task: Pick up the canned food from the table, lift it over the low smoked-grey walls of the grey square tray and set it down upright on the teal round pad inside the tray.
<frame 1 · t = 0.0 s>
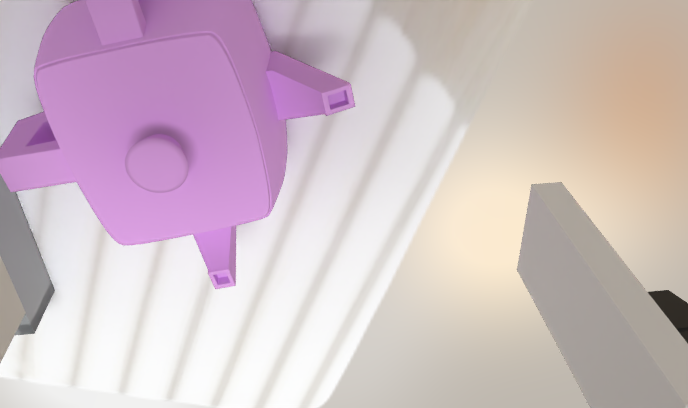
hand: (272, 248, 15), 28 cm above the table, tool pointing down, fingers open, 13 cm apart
teakettle: (195, 84, 42), on the table
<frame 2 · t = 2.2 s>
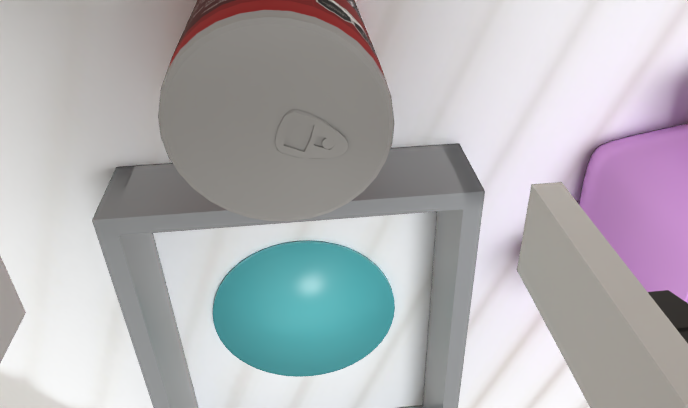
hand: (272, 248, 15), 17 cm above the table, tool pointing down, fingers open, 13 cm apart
canned food: (279, 28, 29), on the table
grey square tray: (304, 312, 39), on the table
teakettle: (672, 217, 38), on the table
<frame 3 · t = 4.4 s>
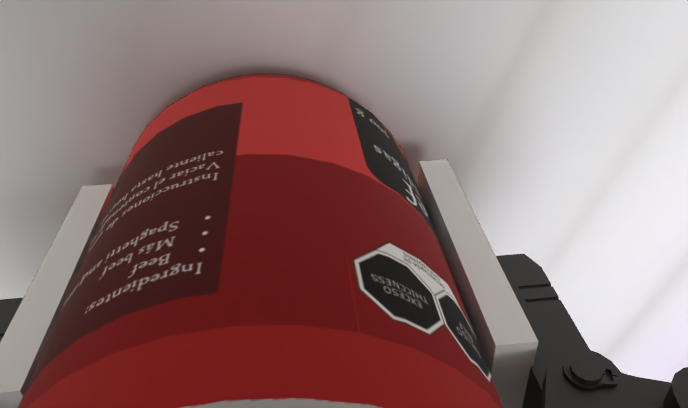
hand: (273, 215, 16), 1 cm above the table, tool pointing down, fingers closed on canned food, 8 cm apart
canned food: (273, 187, 17), on the table, touching gripper
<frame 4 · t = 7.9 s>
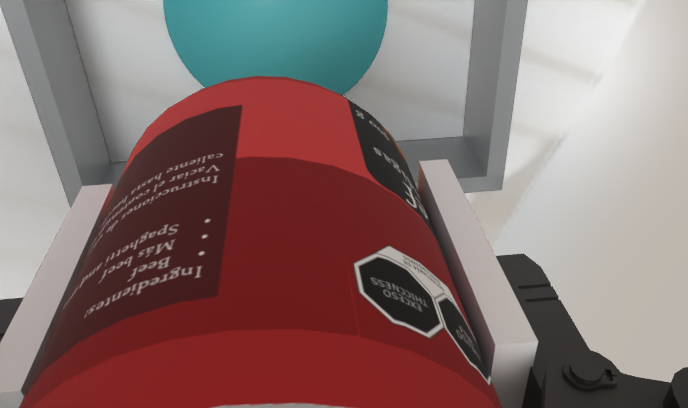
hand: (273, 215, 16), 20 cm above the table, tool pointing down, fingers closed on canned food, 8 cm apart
canned food: (273, 189, 17), point 18 cm above the table, touching gripper
grey square tray: (277, 11, 32), on the table
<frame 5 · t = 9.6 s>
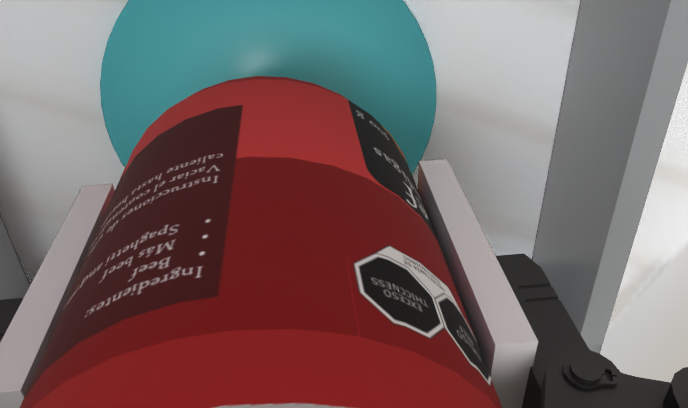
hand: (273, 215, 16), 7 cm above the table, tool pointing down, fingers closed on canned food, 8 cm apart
canned food: (273, 189, 17), point 5 cm above the table, touching gripper
grey square tray: (273, 110, 22), on the table
when the fingers open (3 cm above the table, at t = 11.2 s): canned food drops 1 cm, resting on grey square tray.
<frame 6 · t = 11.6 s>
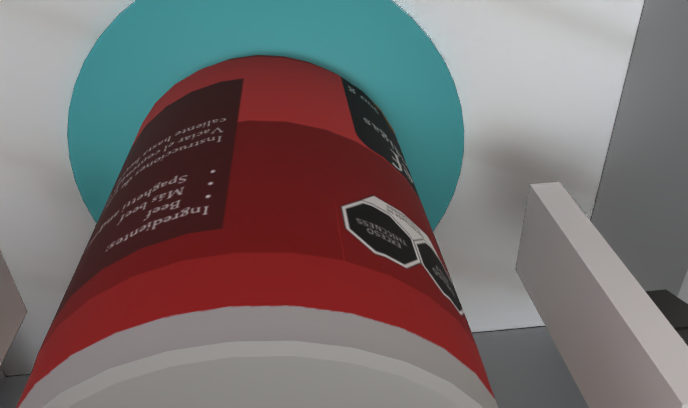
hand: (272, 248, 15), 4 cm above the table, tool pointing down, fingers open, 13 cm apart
canned food: (272, 163, 18), resting on grey square tray
grey square tray: (273, 161, 19), on the table
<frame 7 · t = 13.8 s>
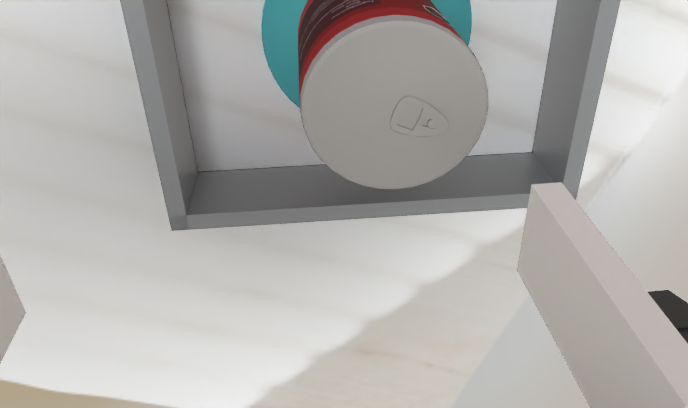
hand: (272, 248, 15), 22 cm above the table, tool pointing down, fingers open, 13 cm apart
canned food: (366, 33, 34), resting on grey square tray
grey square tray: (367, 32, 34), on the table
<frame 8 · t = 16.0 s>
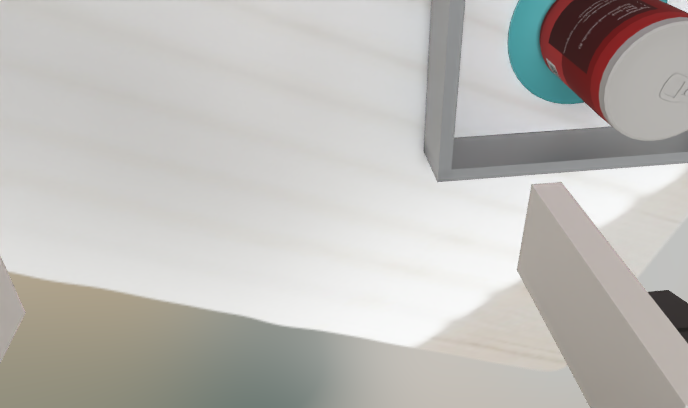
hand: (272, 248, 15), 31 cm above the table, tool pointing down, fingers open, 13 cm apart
canned food: (586, 29, 44), resting on grey square tray
grey square tray: (585, 28, 45), on the table
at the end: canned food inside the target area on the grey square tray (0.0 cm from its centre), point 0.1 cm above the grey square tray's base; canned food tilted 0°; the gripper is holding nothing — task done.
